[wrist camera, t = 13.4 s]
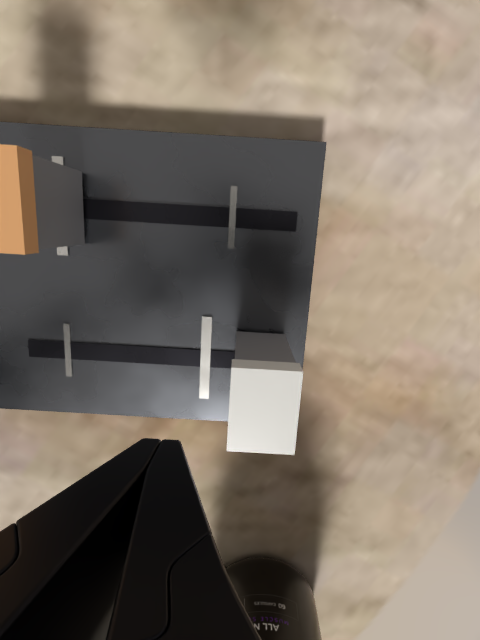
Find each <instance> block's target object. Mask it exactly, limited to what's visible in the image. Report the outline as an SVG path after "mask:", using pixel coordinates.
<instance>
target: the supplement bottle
mask: <svg viewBox="0 0 480 640" xmlns="http://www.w3.org/2000/svg"><path fill="white" fill-rule="evenodd" d="M225 570H226V572H227V574H228V576H229V578H230V580H231V582H232V585H233V587H234V589H235V591H236V593H237V595H238V597H239V599H240V601H241V603H242V604H243V606H244V608H245V610H246V612H247V614H248V616H249V618H250V619H251V621H252V623H253V625H254V627H255V629H256V631H257V633H258V634H259V636H260V638H261V640H322V638H321V633H320V627H319V621H318V615H317V610H316V605H315V599H314V596H313V592H312V589H311V587H310V585H309V583H308V582H307V580H306V579H305V578H304V576H303V575H302V574H301V573H300V572H299V571H298V570H296V569H295V568H294V567H292V566H291V565H289V564H287V563H285V562H282V561H280V560H276V559H272V558H266V557H255V558H248V559H244V560H241V561H238V562H236V563H234V564H232V565H230V566H229V567H227V568H226V569H225Z"/></svg>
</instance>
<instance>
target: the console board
mask: <svg viewBox="0 0 480 640" xmlns="http://www.w3.org/2000/svg"><path fill="white" fill-rule="evenodd" d="M0 144H2V145H17V146H20V147H23V148H25V149H28V150H31V151H32V155H34V156H37V157H40V158H43V159H46V160H49V161H52V162H55V163H58V164H61V165H64V166H67V167H70V168H73V169H76V170H79V171H82V186H83V212H84V237H85V244H82V245H73V246H65V247H56V248H47V249H39V253H34V254H26V255H22V254H6V253H0V408H4V409H22V410H39V411H56V412H74V413H91V414H108V415H126V416H143V417H160V418H178V419H195V420H213V421H228V417H229V399H230V382H231V365H232V359H235V346H236V331H239V332H256V333H273V334H285V336H286V338H287V341H288V344H289V346H290V349H291V351H292V354H293V357H294V359H295V362H296V363H300V365H301V367H302V369H303V360H304V350H305V341H306V331H307V322H308V312H309V303H310V293H311V284H312V274H313V265H314V255H315V246H316V236H317V227H318V217H319V208H320V198H321V189H322V179H323V170H324V160H325V151H326V142H317V141H301V140H285V139H269V138H253V137H236V136H220V135H204V134H188V133H172V132H156V131H140V130H124V129H108V128H92V127H75V126H59V125H43V124H27V123H11V122H0Z"/></svg>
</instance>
